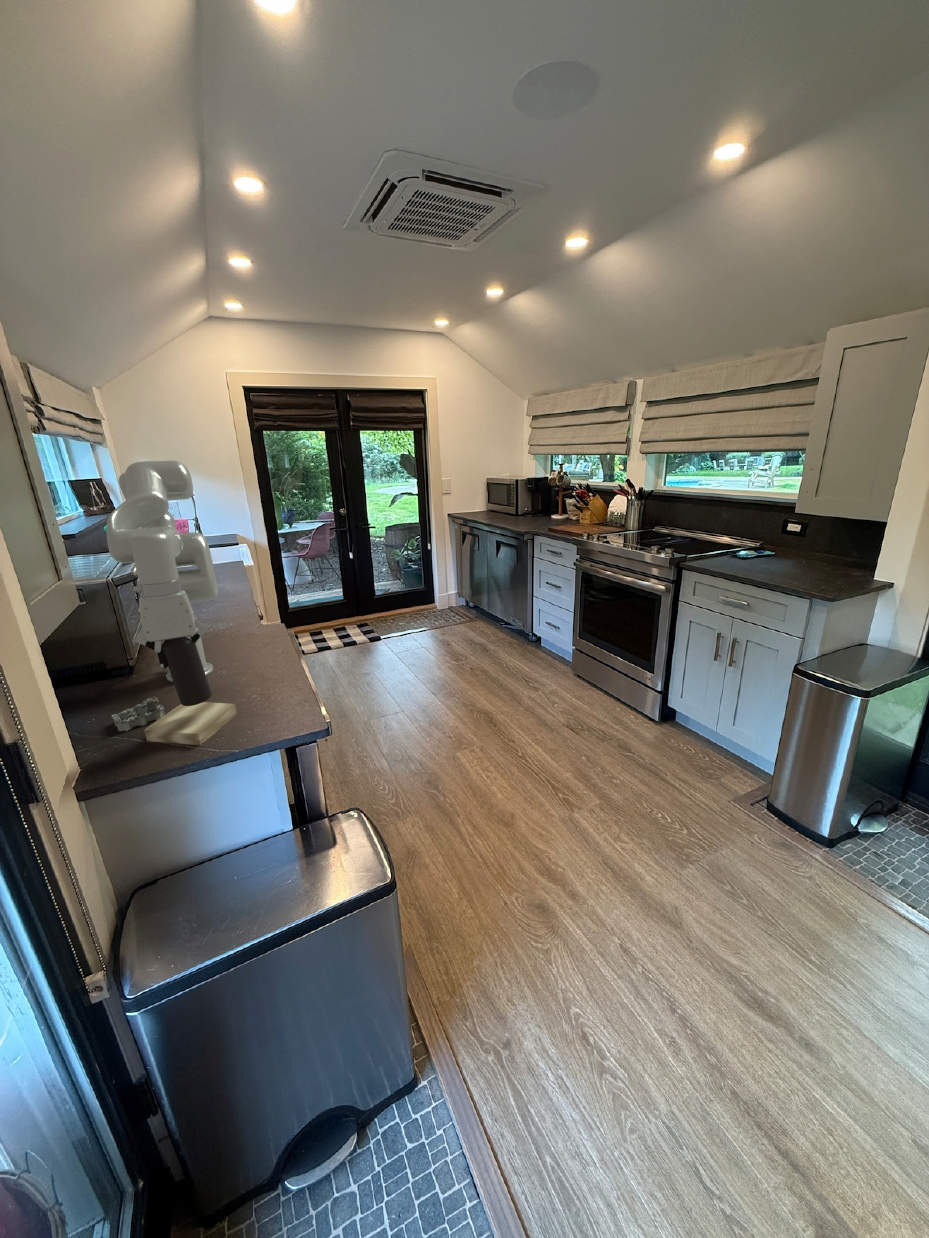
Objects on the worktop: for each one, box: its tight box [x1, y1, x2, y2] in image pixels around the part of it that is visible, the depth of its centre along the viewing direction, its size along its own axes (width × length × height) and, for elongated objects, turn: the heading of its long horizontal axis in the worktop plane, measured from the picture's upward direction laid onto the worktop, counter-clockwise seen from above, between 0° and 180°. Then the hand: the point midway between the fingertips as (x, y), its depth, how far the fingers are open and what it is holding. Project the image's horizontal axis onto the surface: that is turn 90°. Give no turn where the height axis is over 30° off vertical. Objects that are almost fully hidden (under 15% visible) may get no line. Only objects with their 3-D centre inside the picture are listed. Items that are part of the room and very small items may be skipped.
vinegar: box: [161, 636, 212, 706], centre depth 114 cm, size 7×7×20 cm
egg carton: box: [110, 696, 166, 732], centre depth 123 cm, size 11×8×4 cm
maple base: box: [143, 701, 238, 746], centre depth 119 cm, size 14×14×3 cm
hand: (178, 663), depth 114 cm, fingers closed on vinegar, 4 cm apart
